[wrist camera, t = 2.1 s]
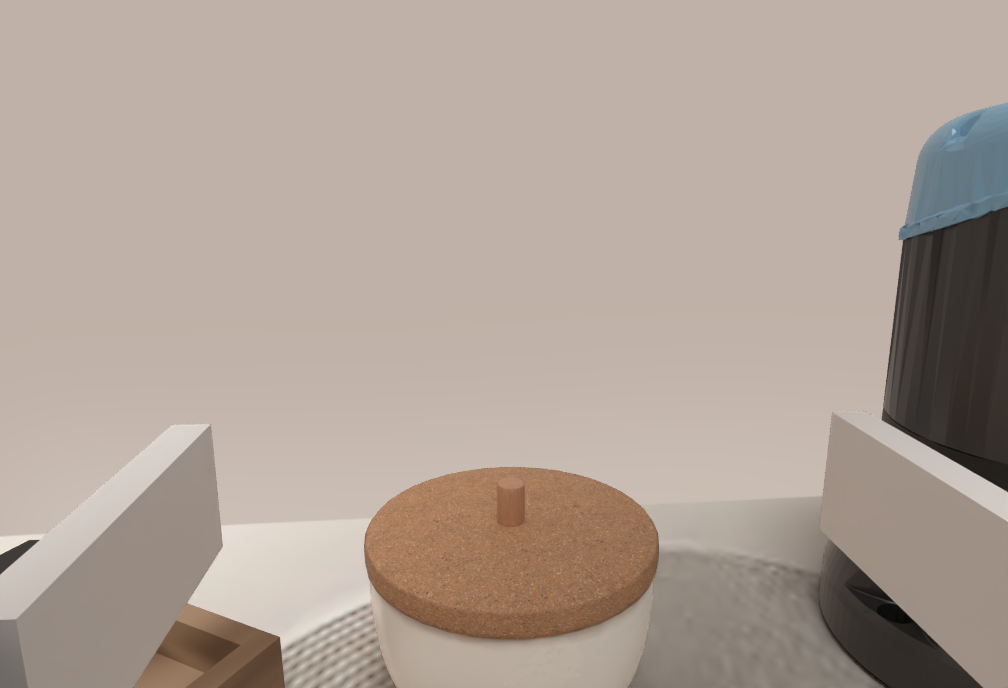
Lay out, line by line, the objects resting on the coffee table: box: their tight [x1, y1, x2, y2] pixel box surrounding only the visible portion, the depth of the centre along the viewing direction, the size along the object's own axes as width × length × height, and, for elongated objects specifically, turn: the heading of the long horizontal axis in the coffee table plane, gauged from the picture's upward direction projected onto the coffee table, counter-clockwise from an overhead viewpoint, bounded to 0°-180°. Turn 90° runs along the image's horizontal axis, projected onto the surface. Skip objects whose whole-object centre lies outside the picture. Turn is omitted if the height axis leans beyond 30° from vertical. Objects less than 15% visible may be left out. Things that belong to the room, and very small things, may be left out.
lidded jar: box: [364, 467, 659, 688], centre depth 27 cm, size 11×11×9 cm
